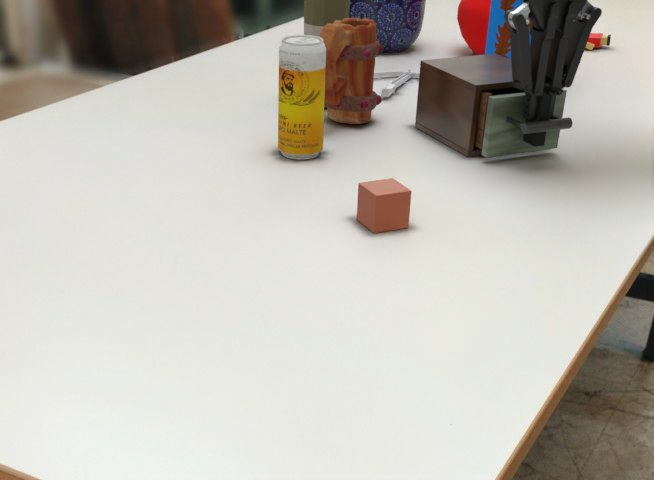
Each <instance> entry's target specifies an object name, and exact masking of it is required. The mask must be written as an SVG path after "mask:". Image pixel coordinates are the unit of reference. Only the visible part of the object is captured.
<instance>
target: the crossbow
mask: <svg viewBox="0 0 654 480" xmlns="http://www.w3.org/2000/svg"><path fill="white" fill-rule="evenodd" d="M419 74H420V72H415V71H411V70H410V69H407V71H406V70H405V71H404V70H403V71H379V72H374V78H377V79H379V80H382V81H384V82H386V83H388V84H387V86H386V87H383V88H382V89H381V98H389V97H390V96H391V95H395V94H396V88H398V87H400V86H401V85H403V84H408V83H409V84H410V83H413V81H408V80H410V79H411V78H412V79H419ZM385 77H386V78H387V77H397V78H395V79H392V81H388V80H385V79H382V78H385Z"/></svg>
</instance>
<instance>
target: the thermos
mask: <svg viewBox="0 0 654 480" xmlns="http://www.w3.org/2000/svg"><path fill="white" fill-rule="evenodd" d="M522 4H523V0H491V7H490V16H489V24H488V32H487V41H486V49H485V54H495V53H496V54H498V55H501V56H503V57H506V58H508V59H511V47H510V31H509V28H508V26H507V23H506V21H505V18H504V15H505V13H506V12H507V11H508V10H510V11H514V10H516V9H517V8H518V7H519V6H521V5H522ZM528 19H529V20H530V18H529V16H528ZM527 26H528V29H529V38H530V43H531V35H530V26H531V20H530V23H529V24H528V25H527Z"/></svg>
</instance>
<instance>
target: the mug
mask: <svg viewBox="0 0 654 480" xmlns="http://www.w3.org/2000/svg"><path fill="white" fill-rule="evenodd" d="M320 37H321V38H323V42H324V44H325V47H326V70H325V99H324V105H325V106H326V107H327V108H326V115H327V118H328V119H330V120H331V121H334V122H335V123H340V124H348V125H361V124H366V123H368V122H370V121H371V119H372V111H373V110H375V108H377V106H378V105H380V104H381V103H382V102H383V97H382V95H380V94H377V93H376V91H374V79H375V77H374V73H375V67H376V58H377V56H378V55H379V54H381V53H382V51H383V50H384V47H383V46H382V45H381V44H379V42H378V41H376V24H375V21H373V20H370V19H366V18H364V19H362V20H360V19H359V18H344V19H343V20H342V21H341V20H335V21H334V22H333V24H331V23H328V24H326V25H325V27H324V28H323V29H322V32H321V34H320ZM382 54H383V53H382Z"/></svg>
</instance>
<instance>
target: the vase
mask: <svg viewBox="0 0 654 480" xmlns="http://www.w3.org/2000/svg"><path fill="white" fill-rule="evenodd" d="M490 7H491V0H460V2H459V4H458V6H457V15H456V19H457V23H458V26H459V30H460V34H461V37H462V39H463V40H464V42H465V44H466V45H467V47H468V48H469V50H471V51H472V52H473V53H474V55H485V49H486V41H487V32H488V24H489V16H490Z"/></svg>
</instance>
